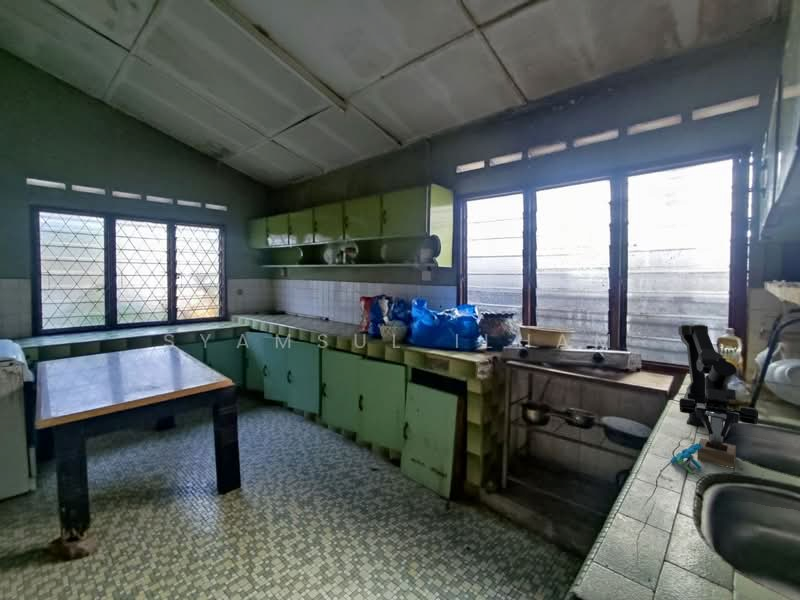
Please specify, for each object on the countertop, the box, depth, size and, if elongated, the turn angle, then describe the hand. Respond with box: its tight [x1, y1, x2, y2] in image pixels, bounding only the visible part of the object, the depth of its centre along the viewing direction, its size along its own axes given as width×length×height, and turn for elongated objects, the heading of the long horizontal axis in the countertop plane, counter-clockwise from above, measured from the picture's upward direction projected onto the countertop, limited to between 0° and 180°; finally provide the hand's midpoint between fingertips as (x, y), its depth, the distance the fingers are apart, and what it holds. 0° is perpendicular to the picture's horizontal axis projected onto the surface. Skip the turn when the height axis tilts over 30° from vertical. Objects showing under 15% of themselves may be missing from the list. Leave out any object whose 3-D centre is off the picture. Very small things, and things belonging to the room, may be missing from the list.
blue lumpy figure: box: [669, 442, 703, 475], centre depth 108 cm, size 11×6×10 cm
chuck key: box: [705, 411, 727, 451], centre depth 112 cm, size 3×5×13 cm, turn 45°
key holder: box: [696, 437, 737, 469], centre depth 113 cm, size 8×8×4 cm
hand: (716, 435), depth 111 cm, fingers closed on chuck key, 3 cm apart
